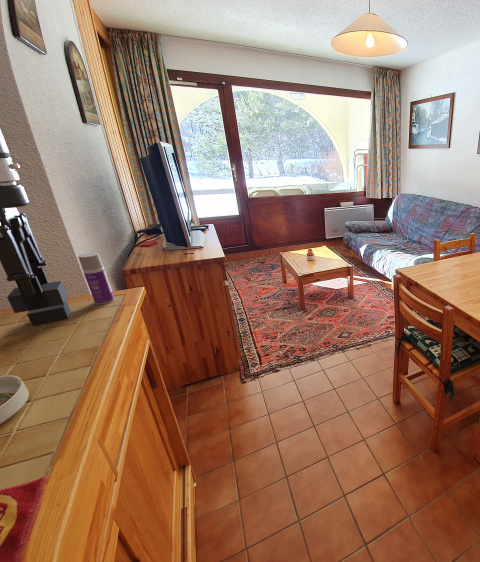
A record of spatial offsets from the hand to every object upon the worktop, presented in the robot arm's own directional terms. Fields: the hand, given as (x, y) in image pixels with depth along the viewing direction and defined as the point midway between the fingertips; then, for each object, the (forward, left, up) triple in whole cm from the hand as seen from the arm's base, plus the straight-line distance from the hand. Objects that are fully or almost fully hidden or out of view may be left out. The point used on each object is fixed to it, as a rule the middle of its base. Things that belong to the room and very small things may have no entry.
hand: (42, 302), depth 63 cm
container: (-12, +30, -15) cm, 36 cm away
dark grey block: (0, 0, 0) cm, 0 cm away
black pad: (-19, +20, -14) cm, 31 cm away
